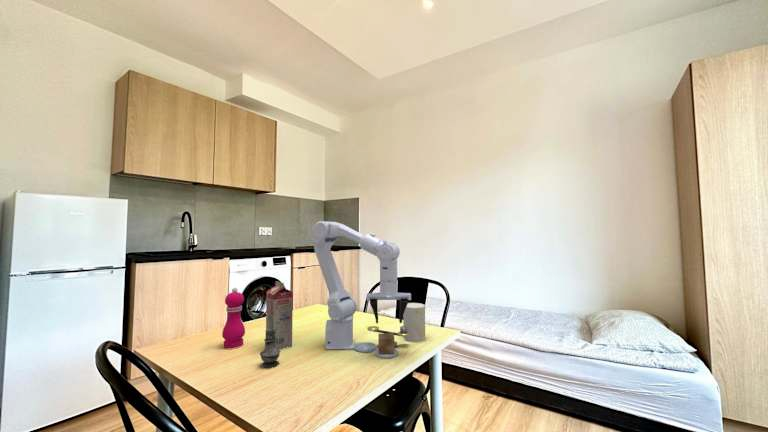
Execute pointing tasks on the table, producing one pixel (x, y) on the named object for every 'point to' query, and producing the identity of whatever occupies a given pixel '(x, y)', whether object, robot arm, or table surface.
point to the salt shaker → (270, 349)
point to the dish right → (385, 355)
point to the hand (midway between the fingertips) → (388, 322)
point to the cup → (414, 322)
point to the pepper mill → (233, 320)
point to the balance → (402, 332)
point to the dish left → (365, 347)
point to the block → (386, 344)
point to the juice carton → (280, 314)
